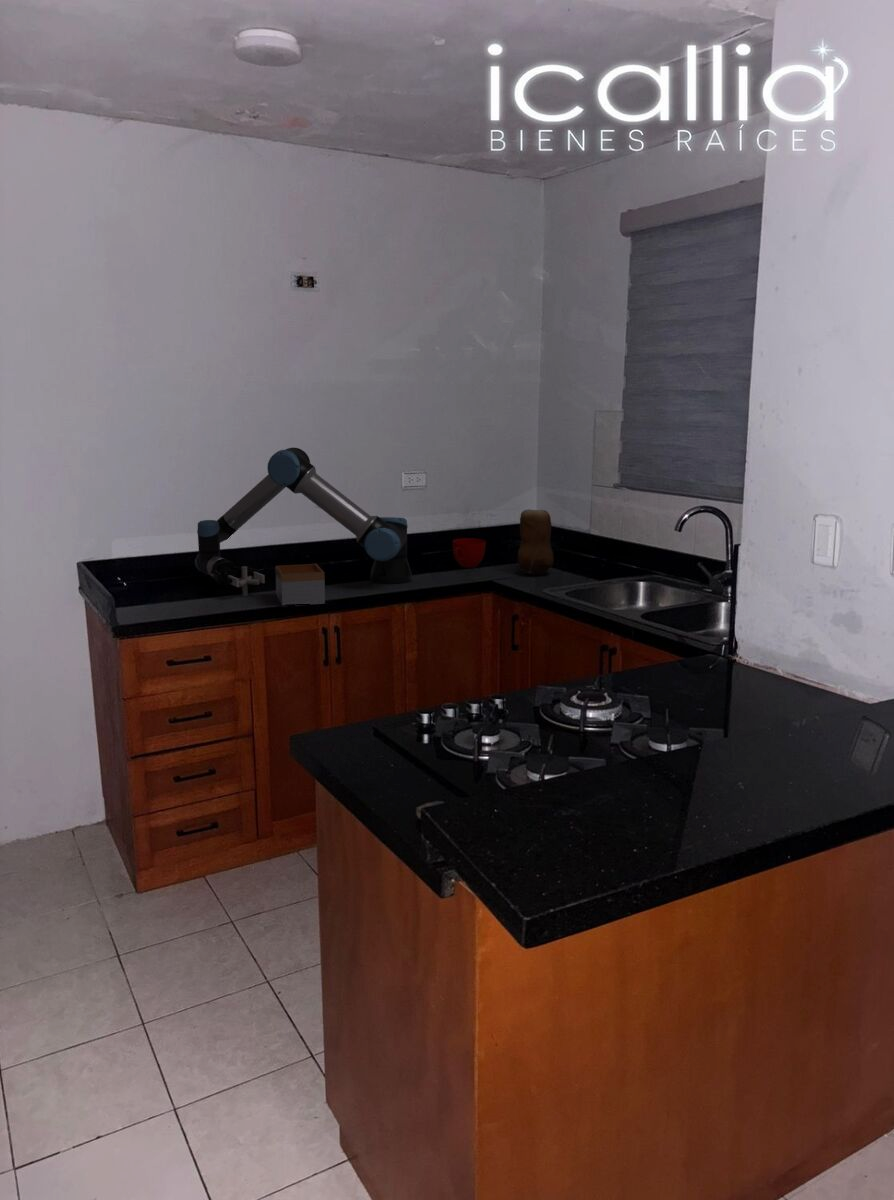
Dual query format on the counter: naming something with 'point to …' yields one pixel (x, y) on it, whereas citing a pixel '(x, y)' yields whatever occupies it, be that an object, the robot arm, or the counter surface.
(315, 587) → the grey box
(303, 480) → the robot arm
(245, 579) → the pipe connector
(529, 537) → the butternut squash
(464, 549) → the ceramic cup
